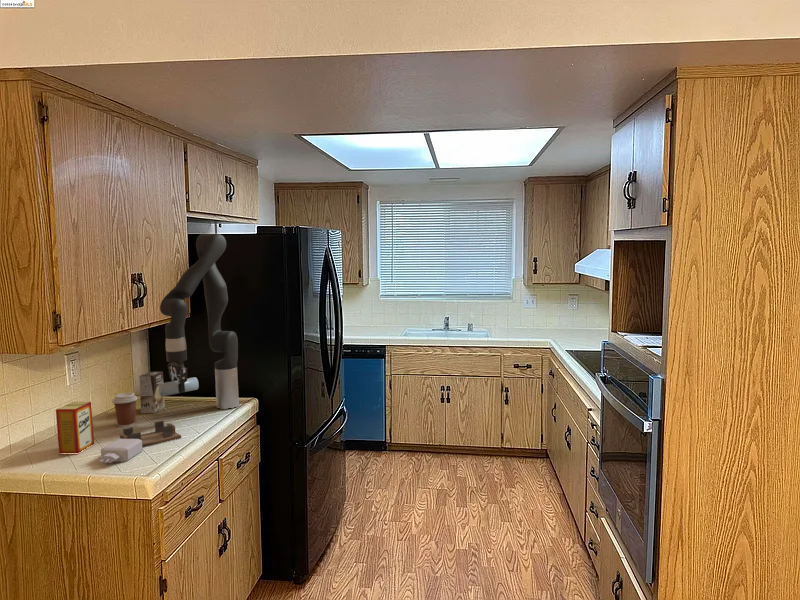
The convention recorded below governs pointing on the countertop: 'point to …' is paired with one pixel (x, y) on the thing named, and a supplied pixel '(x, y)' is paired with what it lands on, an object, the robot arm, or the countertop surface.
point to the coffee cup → (125, 408)
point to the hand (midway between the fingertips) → (179, 391)
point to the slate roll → (173, 388)
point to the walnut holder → (153, 434)
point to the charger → (121, 450)
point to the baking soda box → (74, 427)
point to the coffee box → (151, 392)
